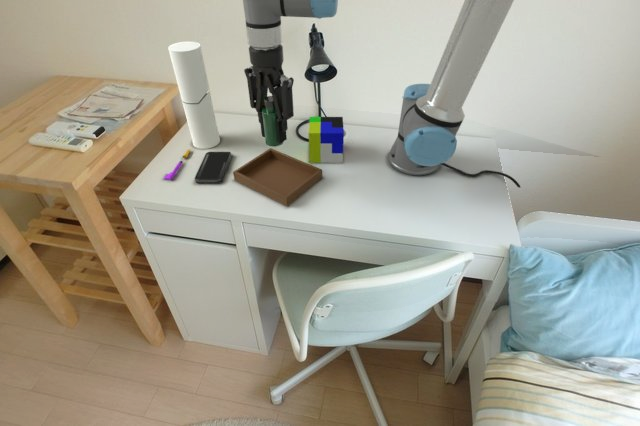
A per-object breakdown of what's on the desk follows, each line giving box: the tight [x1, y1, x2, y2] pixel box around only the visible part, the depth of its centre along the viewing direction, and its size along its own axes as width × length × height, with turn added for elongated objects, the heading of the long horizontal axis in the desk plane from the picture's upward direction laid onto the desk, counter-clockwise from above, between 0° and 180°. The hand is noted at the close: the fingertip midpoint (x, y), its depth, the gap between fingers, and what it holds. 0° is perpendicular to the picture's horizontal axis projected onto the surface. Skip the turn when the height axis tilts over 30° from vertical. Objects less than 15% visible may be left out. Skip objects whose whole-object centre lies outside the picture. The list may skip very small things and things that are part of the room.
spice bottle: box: [262, 95, 284, 148], centre depth 96 cm, size 5×5×12 cm
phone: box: [194, 151, 233, 185], centre depth 111 cm, size 8×1×15 cm
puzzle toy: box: [308, 116, 345, 164], centre depth 114 cm, size 10×10×10 cm
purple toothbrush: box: [163, 148, 191, 181], centre depth 113 cm, size 3×1×16 cm
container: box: [167, 41, 221, 150], centre depth 114 cm, size 9×9×30 cm
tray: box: [232, 148, 323, 208], centre depth 107 cm, size 20×16×3 cm
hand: (274, 137), depth 99 cm, fingers closed on spice bottle, 5 cm apart
